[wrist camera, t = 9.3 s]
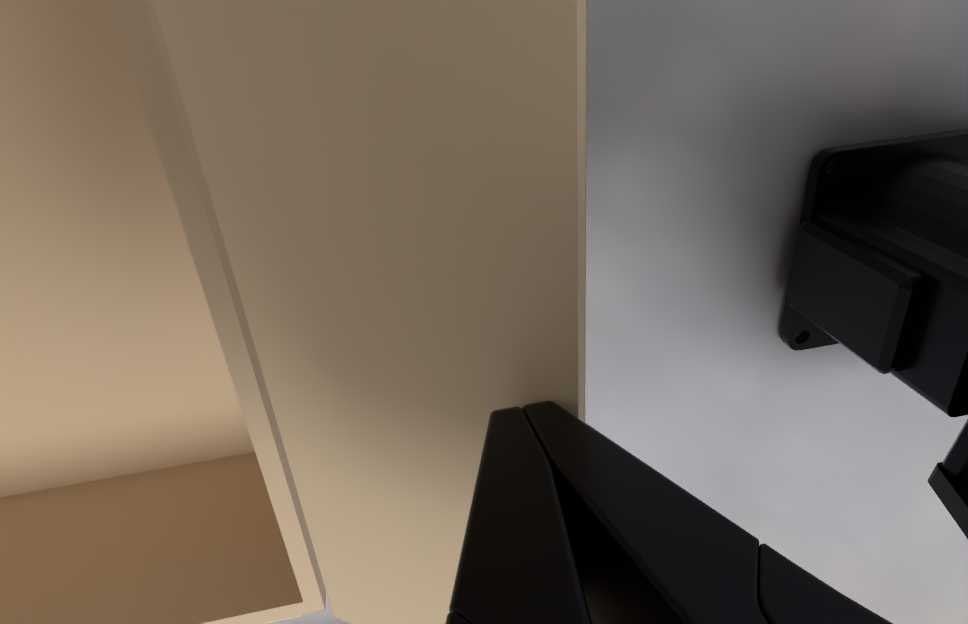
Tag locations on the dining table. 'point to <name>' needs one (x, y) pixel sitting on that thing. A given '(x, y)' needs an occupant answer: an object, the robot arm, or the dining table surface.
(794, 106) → the dining table surface
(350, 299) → the flap
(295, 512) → the carton
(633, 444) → the dining table surface
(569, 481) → the robot arm
